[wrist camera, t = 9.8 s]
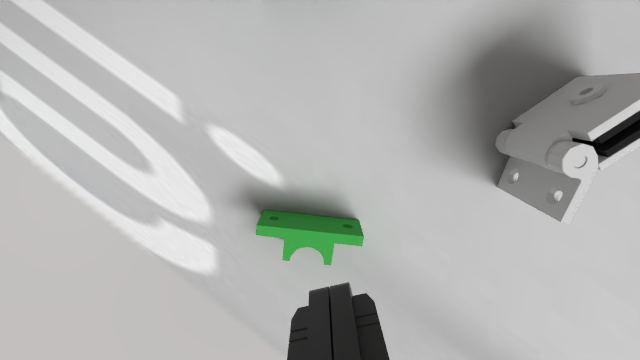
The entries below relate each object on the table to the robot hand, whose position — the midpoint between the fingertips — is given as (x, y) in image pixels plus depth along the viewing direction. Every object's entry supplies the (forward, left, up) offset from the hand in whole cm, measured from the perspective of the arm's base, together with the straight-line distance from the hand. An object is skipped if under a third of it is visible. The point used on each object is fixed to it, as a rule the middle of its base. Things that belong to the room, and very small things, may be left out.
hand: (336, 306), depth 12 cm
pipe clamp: (+2, -8, -25) cm, 26 cm away
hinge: (+18, +14, -25) cm, 34 cm away
